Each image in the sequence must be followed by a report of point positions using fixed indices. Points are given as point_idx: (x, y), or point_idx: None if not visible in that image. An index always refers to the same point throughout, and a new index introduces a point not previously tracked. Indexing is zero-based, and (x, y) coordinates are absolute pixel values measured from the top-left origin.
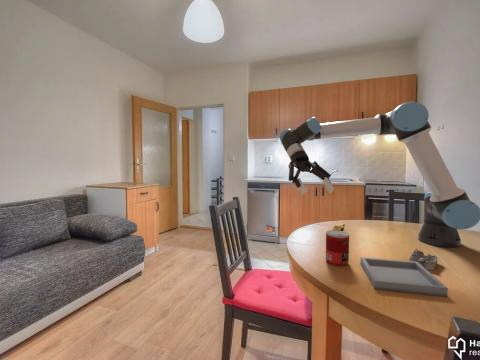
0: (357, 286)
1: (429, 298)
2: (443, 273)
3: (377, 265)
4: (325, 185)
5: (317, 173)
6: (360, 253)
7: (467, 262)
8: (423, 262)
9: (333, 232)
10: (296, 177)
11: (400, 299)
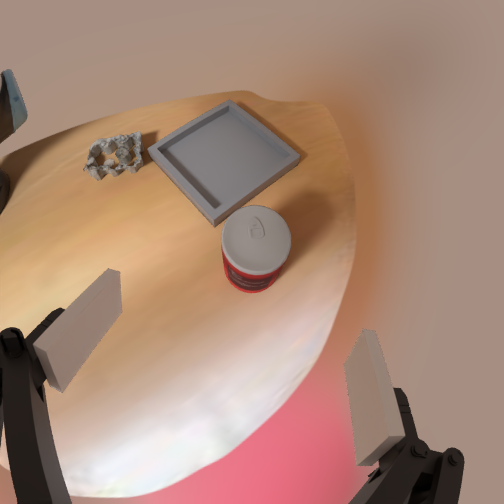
0: (314, 183)
1: (254, 117)
2: (141, 132)
3: (204, 194)
4: (86, 353)
5: (47, 452)
6: (147, 262)
7: (67, 135)
8: (135, 147)
9: (251, 257)
10: (421, 445)
11: (292, 135)
